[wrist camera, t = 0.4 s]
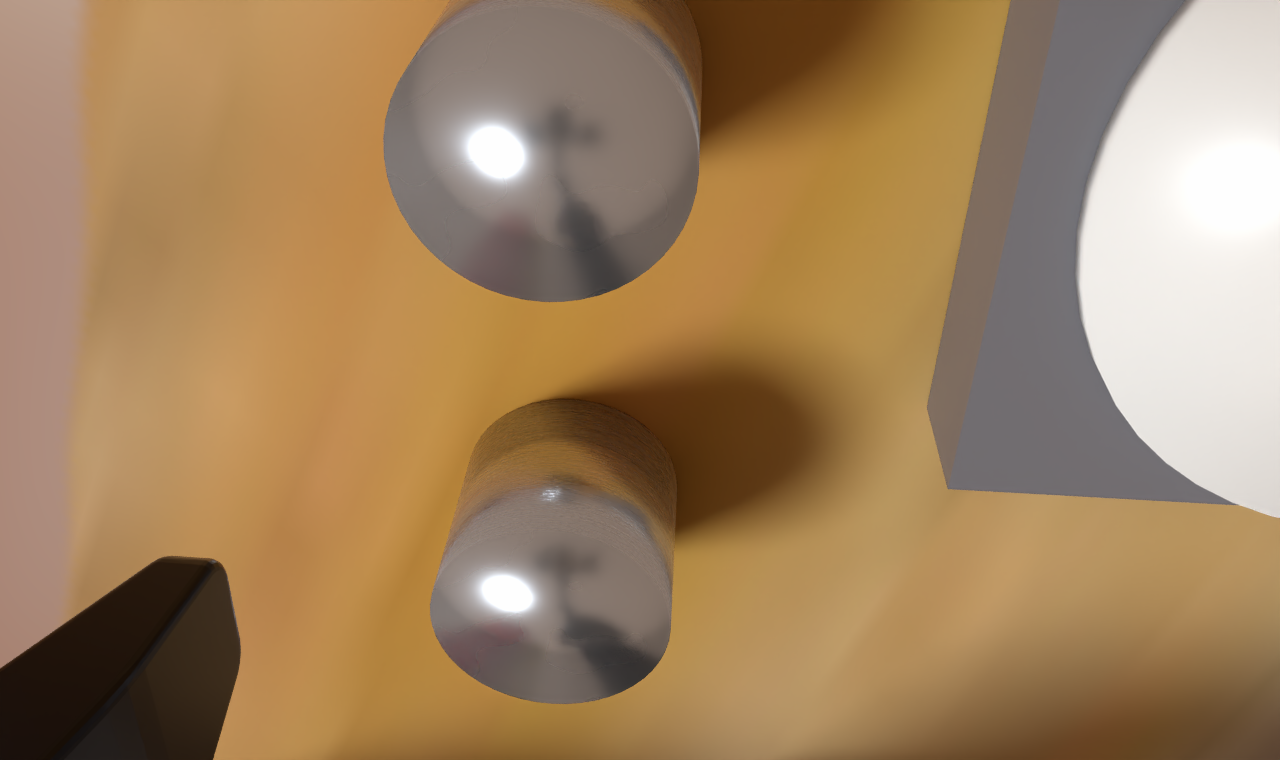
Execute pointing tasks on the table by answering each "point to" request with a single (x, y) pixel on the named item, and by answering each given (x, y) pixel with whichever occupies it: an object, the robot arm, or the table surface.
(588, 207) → the cylinder
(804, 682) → the table surface
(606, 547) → the cylinder
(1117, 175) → the scale
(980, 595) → the table surface
